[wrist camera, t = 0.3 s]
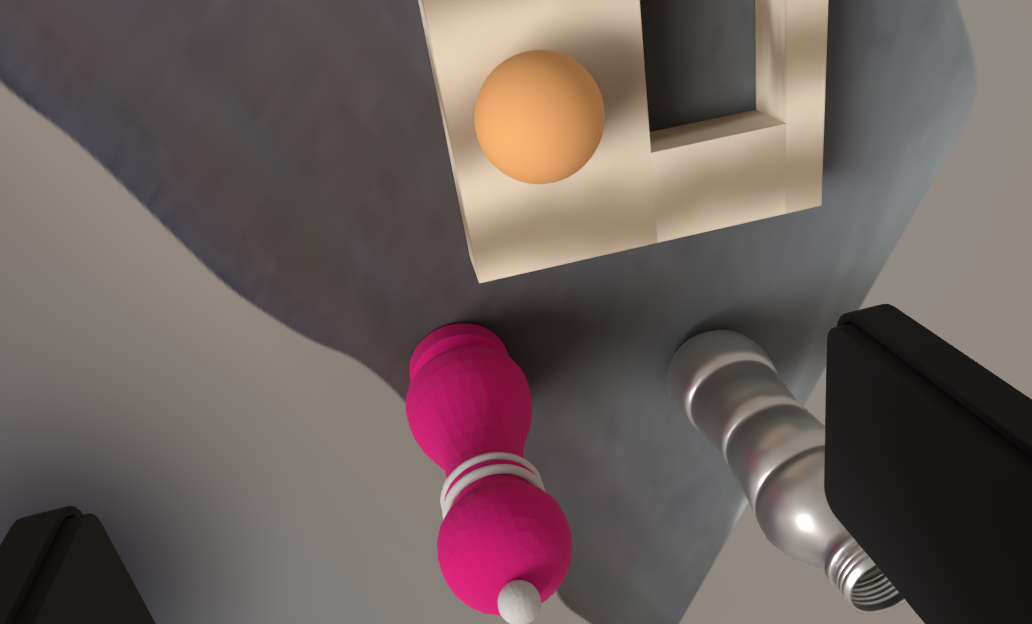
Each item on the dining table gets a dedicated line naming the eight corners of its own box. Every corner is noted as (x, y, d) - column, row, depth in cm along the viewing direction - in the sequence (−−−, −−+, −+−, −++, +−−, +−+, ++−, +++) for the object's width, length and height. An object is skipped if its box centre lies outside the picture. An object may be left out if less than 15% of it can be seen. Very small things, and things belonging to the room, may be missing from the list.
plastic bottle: (652, 331, 50) (816, 553, 33) (750, 306, 51) (963, 512, 33) (659, 411, 53) (813, 654, 36) (752, 387, 54) (948, 614, 36)
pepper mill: (488, 295, 47) (574, 522, 29) (533, 384, 50) (633, 634, 33) (380, 346, 47) (401, 602, 29) (432, 431, 50) (478, 706, 33)
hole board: (401, -83, 37) (406, -83, 34) (795, -154, 39) (834, -160, 36) (470, 258, 45) (479, 283, 42) (790, 186, 47) (821, 205, 44)
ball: (455, 54, 37) (473, 77, 32) (577, 30, 37) (615, 48, 32) (477, 174, 40) (497, 214, 34) (591, 150, 40) (627, 185, 35)
